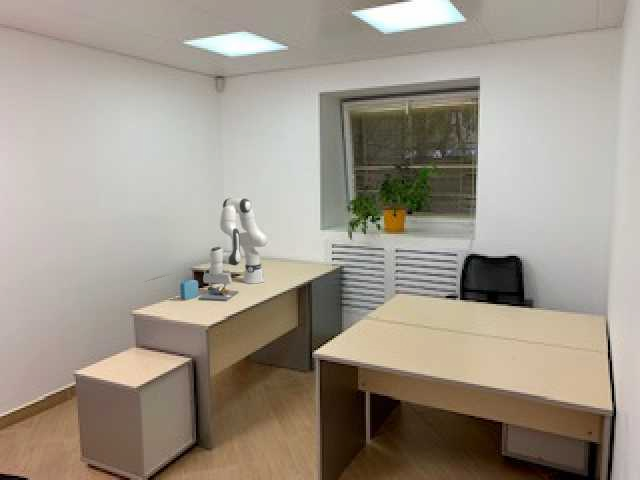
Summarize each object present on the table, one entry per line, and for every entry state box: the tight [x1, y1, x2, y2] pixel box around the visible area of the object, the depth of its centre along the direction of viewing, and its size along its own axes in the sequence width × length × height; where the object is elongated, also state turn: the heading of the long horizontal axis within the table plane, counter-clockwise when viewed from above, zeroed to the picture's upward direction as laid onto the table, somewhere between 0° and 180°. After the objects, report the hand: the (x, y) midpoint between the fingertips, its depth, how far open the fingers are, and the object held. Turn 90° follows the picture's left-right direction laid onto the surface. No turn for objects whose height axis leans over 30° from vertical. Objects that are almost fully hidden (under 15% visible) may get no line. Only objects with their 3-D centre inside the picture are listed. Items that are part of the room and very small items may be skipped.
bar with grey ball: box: [207, 286, 231, 295], centre depth 339 cm, size 20×6×5 cm, turn 57°
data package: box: [179, 279, 200, 301], centre depth 335 cm, size 12×4×12 cm, turn 145°
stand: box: [198, 290, 239, 302], centre depth 340 cm, size 22×21×2 cm
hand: (217, 289), depth 345 cm, fingers open, 8 cm apart
